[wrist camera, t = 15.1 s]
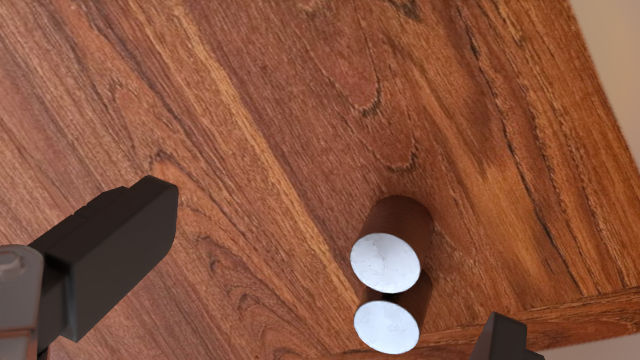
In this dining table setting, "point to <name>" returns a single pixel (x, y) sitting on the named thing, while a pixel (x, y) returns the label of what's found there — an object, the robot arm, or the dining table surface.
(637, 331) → the dining table surface
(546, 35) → the dining table surface
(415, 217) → the grey tin
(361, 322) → the grey tin
